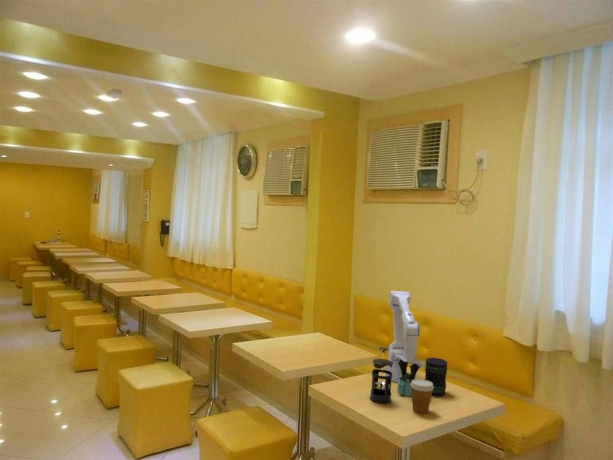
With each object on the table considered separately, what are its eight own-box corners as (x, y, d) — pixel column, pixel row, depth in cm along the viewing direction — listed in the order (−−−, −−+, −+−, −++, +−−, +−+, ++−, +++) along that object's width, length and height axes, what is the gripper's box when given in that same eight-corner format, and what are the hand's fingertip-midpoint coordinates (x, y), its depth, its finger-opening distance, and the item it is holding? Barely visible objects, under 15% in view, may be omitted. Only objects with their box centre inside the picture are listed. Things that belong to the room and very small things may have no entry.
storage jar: (443, 389, 219) (445, 358, 219) (447, 397, 209) (449, 365, 209) (422, 387, 220) (424, 356, 220) (425, 395, 210) (427, 363, 210)
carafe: (392, 392, 211) (392, 379, 211) (404, 387, 218) (405, 375, 218) (407, 398, 205) (408, 385, 205) (420, 393, 212) (421, 380, 212)
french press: (396, 403, 199) (399, 350, 198) (377, 405, 196) (380, 352, 195) (382, 393, 210) (385, 343, 209) (364, 395, 206) (367, 344, 206)
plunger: (397, 390, 213) (398, 373, 212) (405, 387, 217) (406, 371, 217) (409, 395, 208) (410, 377, 208) (417, 391, 212) (418, 374, 212)
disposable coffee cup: (415, 404, 199) (416, 376, 199) (435, 411, 193) (437, 382, 193) (404, 410, 192) (406, 382, 192) (426, 417, 186) (428, 388, 186)
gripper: (392, 346, 214) (390, 375, 215) (419, 354, 204) (417, 385, 204) (400, 344, 219) (398, 372, 220) (427, 352, 209) (425, 381, 209)
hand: (408, 378), depth 212 cm, fingers closed on plunger, 4 cm apart
